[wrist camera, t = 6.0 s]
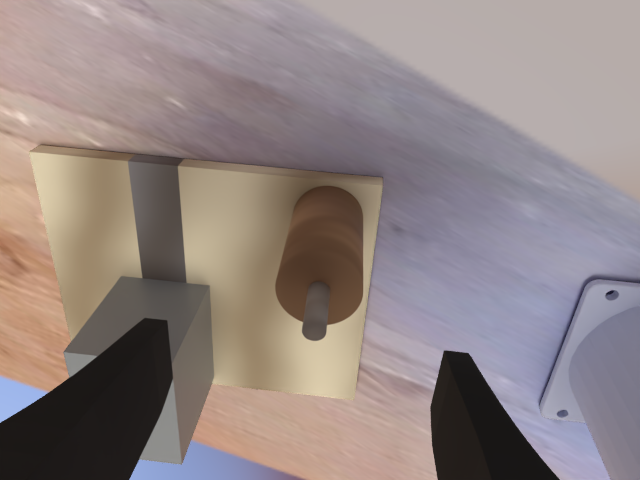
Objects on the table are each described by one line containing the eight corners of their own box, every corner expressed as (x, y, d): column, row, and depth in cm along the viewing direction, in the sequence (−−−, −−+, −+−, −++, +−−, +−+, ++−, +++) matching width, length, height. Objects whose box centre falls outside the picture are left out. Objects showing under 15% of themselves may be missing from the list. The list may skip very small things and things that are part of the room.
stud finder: (209, 285, 23) (169, 370, 19) (214, 377, 26) (179, 470, 21) (121, 276, 23) (58, 357, 19) (134, 368, 26) (83, 459, 22)
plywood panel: (382, 177, 21) (383, 185, 20) (354, 388, 27) (354, 400, 26) (40, 144, 21) (28, 151, 21) (84, 357, 27) (77, 368, 27)
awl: (364, 186, 20) (365, 293, 14) (361, 249, 22) (361, 370, 16) (292, 184, 20) (262, 288, 14) (293, 246, 22) (267, 365, 16)
